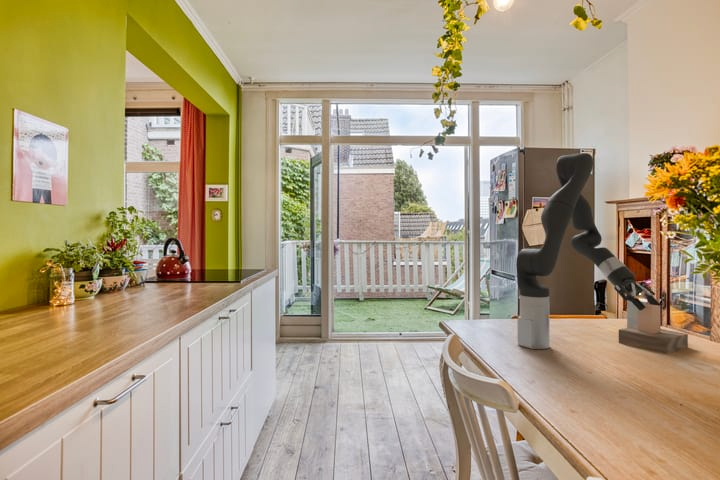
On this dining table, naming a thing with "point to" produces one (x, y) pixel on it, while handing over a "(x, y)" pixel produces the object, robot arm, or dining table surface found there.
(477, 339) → the dining table surface
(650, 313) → the terracotta block
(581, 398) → the dining table surface
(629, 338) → the walnut block
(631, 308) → the small box
